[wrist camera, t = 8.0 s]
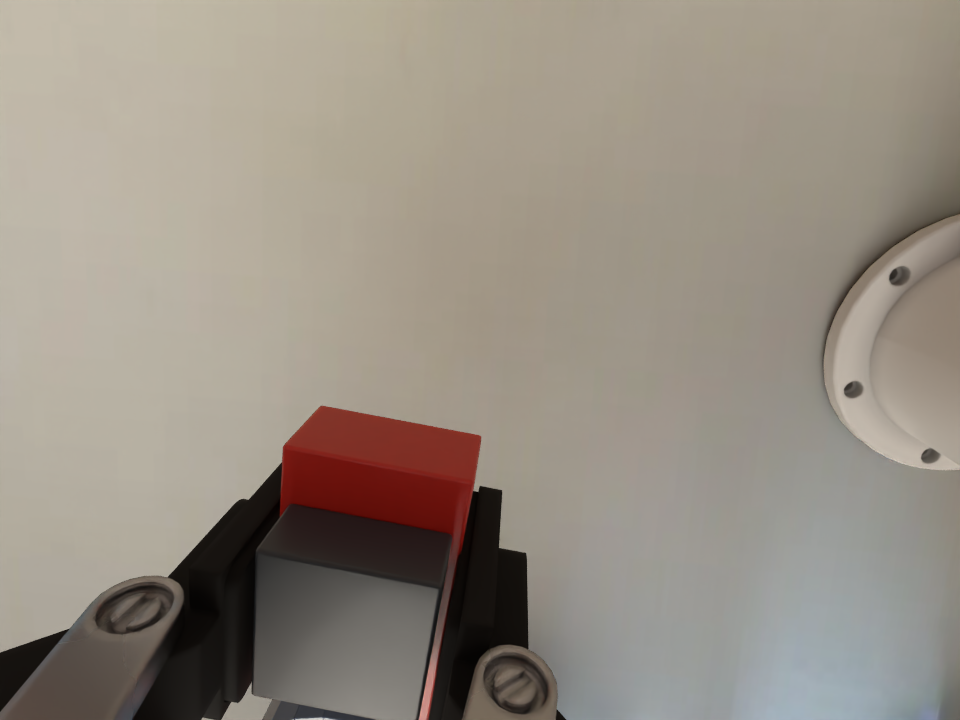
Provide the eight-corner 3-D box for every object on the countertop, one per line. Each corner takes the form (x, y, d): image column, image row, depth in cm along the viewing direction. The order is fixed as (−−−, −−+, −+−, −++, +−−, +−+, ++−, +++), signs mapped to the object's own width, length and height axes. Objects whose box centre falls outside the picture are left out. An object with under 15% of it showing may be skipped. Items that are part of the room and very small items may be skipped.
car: (332, 390, 11) (242, 487, 7) (484, 419, 11) (467, 530, 7) (315, 603, 13) (237, 759, 9) (444, 627, 13) (415, 795, 9)
